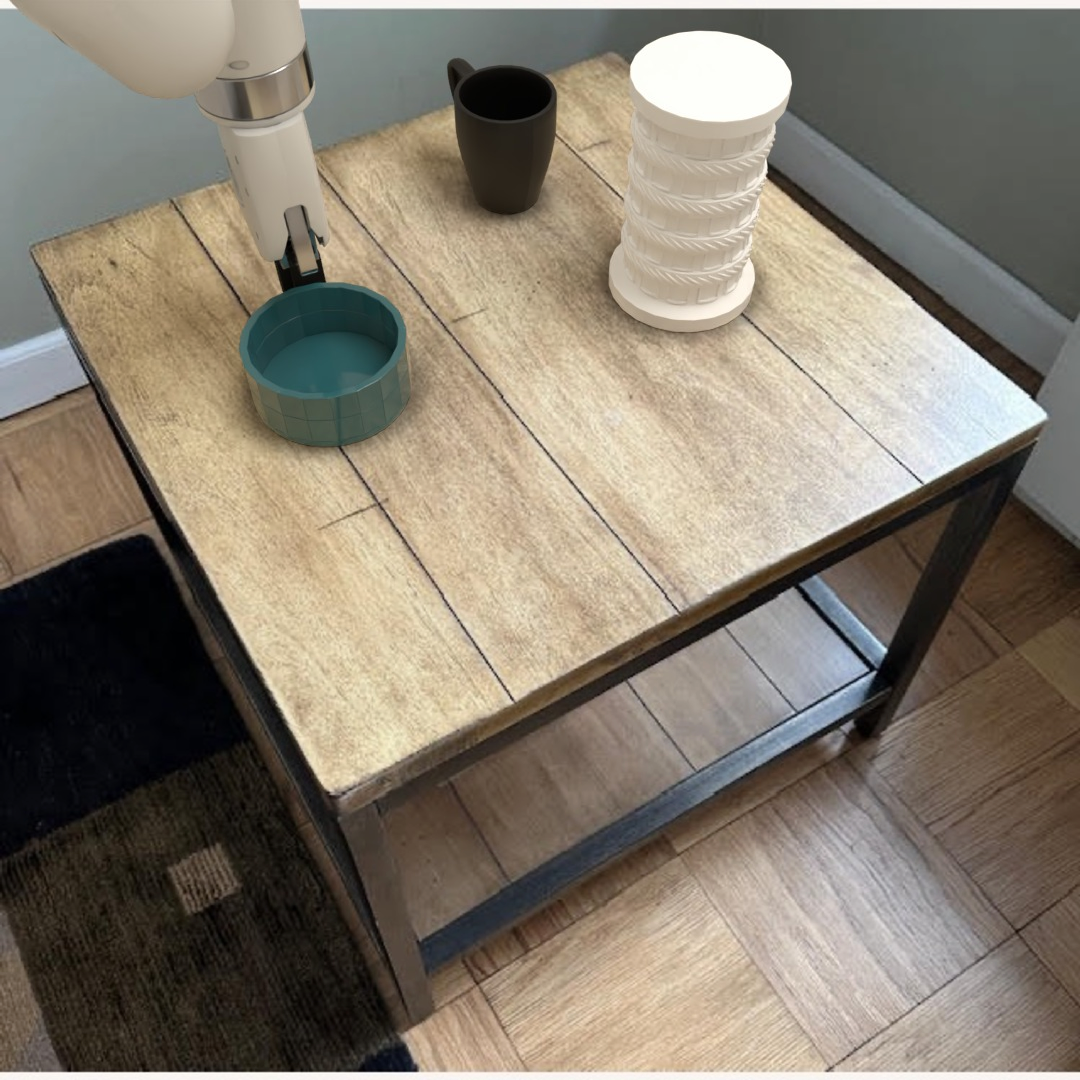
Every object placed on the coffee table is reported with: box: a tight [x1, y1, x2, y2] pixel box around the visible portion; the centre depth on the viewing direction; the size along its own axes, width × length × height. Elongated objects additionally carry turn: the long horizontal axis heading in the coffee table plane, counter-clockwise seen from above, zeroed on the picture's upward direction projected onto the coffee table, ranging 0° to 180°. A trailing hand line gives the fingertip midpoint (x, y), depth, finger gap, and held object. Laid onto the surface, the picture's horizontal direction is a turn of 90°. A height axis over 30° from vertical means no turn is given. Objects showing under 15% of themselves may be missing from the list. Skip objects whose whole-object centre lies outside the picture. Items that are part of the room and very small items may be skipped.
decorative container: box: [608, 30, 793, 333], centre depth 81 cm, size 12×12×18 cm
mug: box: [446, 57, 558, 215], centre depth 92 cm, size 8×12×10 cm
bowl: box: [238, 281, 413, 448], centre depth 79 cm, size 12×12×5 cm
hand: (305, 293), depth 83 cm, fingers closed
